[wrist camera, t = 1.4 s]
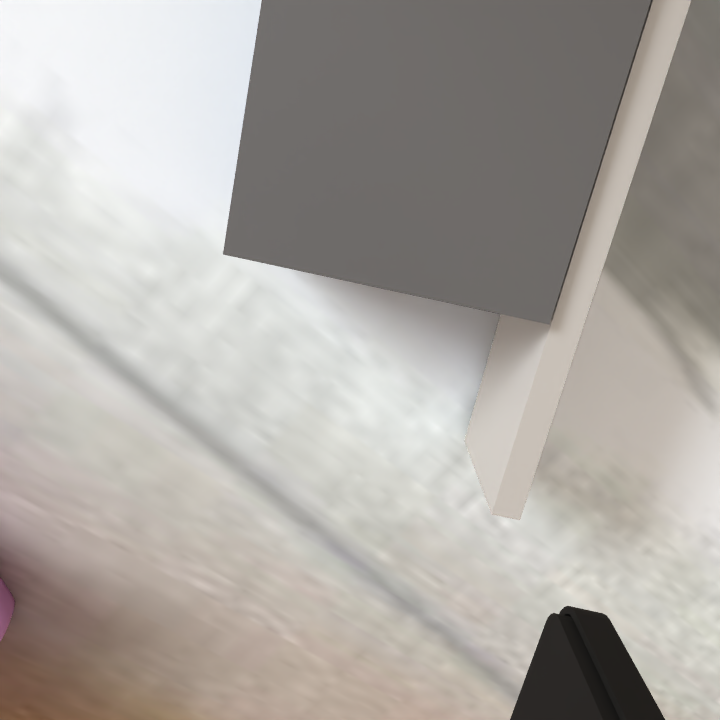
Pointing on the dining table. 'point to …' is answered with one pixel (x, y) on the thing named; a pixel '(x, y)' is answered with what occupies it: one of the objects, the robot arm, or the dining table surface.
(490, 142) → the block
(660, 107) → the dining table surface
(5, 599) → the teakettle
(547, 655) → the robot arm
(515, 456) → the door
